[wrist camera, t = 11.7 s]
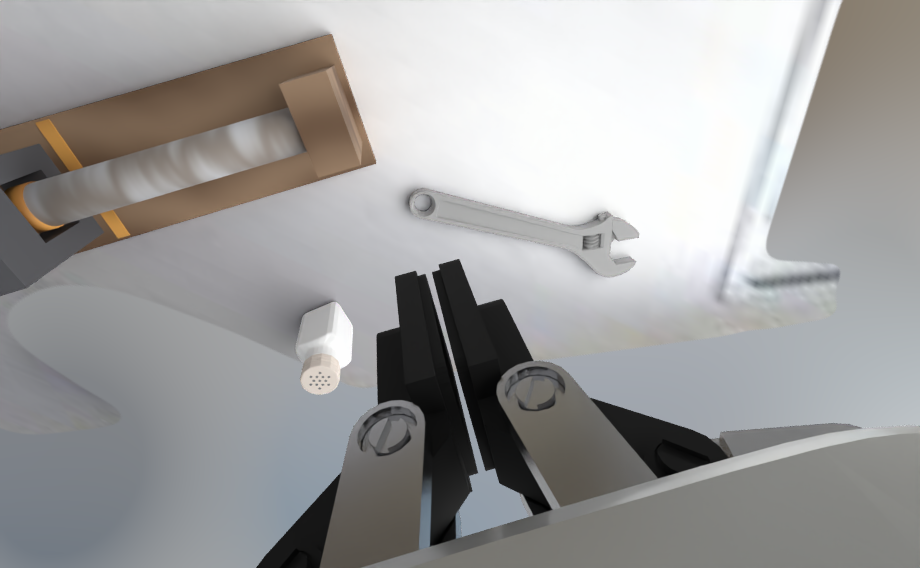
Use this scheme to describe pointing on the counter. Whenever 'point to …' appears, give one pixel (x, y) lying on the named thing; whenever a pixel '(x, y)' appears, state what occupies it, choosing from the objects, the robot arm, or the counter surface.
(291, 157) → the pipe stand
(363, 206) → the counter surface
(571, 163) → the counter surface
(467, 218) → the adjustable wrench
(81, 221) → the collar
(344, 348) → the salt shaker
